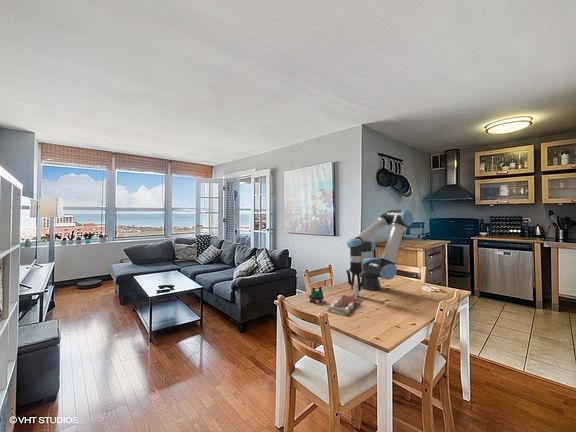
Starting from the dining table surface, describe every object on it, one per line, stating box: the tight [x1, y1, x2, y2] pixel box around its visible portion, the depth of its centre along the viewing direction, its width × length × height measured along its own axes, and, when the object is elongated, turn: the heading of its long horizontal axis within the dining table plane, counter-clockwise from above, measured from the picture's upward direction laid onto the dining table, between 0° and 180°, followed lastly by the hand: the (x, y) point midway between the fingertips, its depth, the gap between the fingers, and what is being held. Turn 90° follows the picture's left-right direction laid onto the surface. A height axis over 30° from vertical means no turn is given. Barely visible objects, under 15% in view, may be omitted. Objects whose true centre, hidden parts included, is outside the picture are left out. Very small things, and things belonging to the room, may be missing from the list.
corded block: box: [341, 283, 359, 306], centre depth 171 cm, size 22×6×8 cm, turn 149°
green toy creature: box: [308, 286, 324, 304], centre depth 170 cm, size 9×11×10 cm
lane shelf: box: [326, 297, 364, 317], centre depth 162 cm, size 30×14×4 cm, turn 148°
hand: (356, 295), depth 179 cm, fingers closed on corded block, 2 cm apart
